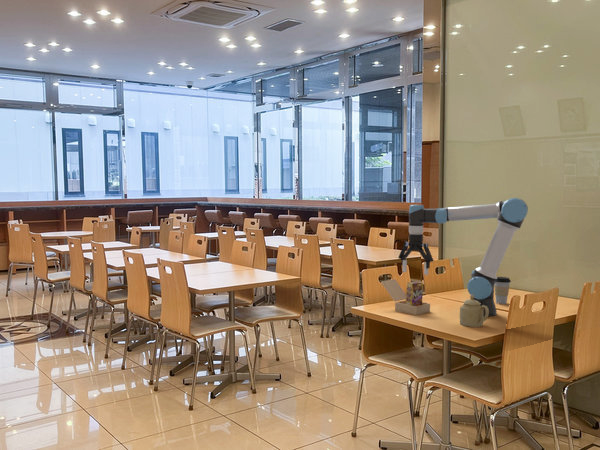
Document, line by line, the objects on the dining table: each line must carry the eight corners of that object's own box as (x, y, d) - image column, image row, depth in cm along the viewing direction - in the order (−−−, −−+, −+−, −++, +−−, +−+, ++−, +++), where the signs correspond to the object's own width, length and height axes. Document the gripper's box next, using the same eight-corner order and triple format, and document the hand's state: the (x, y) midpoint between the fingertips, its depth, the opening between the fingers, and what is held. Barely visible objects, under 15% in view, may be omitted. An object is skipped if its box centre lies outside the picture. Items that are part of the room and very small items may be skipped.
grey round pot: (493, 325, 276) (495, 294, 276) (487, 329, 267) (488, 298, 266) (463, 320, 285) (465, 291, 284) (456, 324, 276) (457, 294, 275)
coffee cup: (492, 303, 331) (493, 278, 330) (493, 301, 340) (494, 276, 339) (509, 305, 327) (510, 279, 326) (510, 302, 336) (511, 277, 335)
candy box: (411, 312, 300) (412, 283, 299) (405, 310, 303) (406, 282, 303) (422, 310, 305) (423, 282, 304) (416, 308, 309) (417, 281, 308)
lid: (395, 279, 320) (394, 279, 321) (381, 281, 311) (380, 281, 311) (408, 298, 314) (408, 298, 314) (394, 301, 305) (394, 301, 305)
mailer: (429, 311, 305) (430, 303, 305) (416, 315, 296) (416, 306, 295) (408, 307, 314) (408, 299, 314) (394, 310, 305) (395, 302, 305)
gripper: (440, 234, 296) (439, 275, 297) (400, 232, 314) (399, 270, 315) (432, 235, 291) (431, 276, 292) (392, 232, 308) (391, 271, 309)
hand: (415, 273), depth 303 cm, fingers open, 13 cm apart
